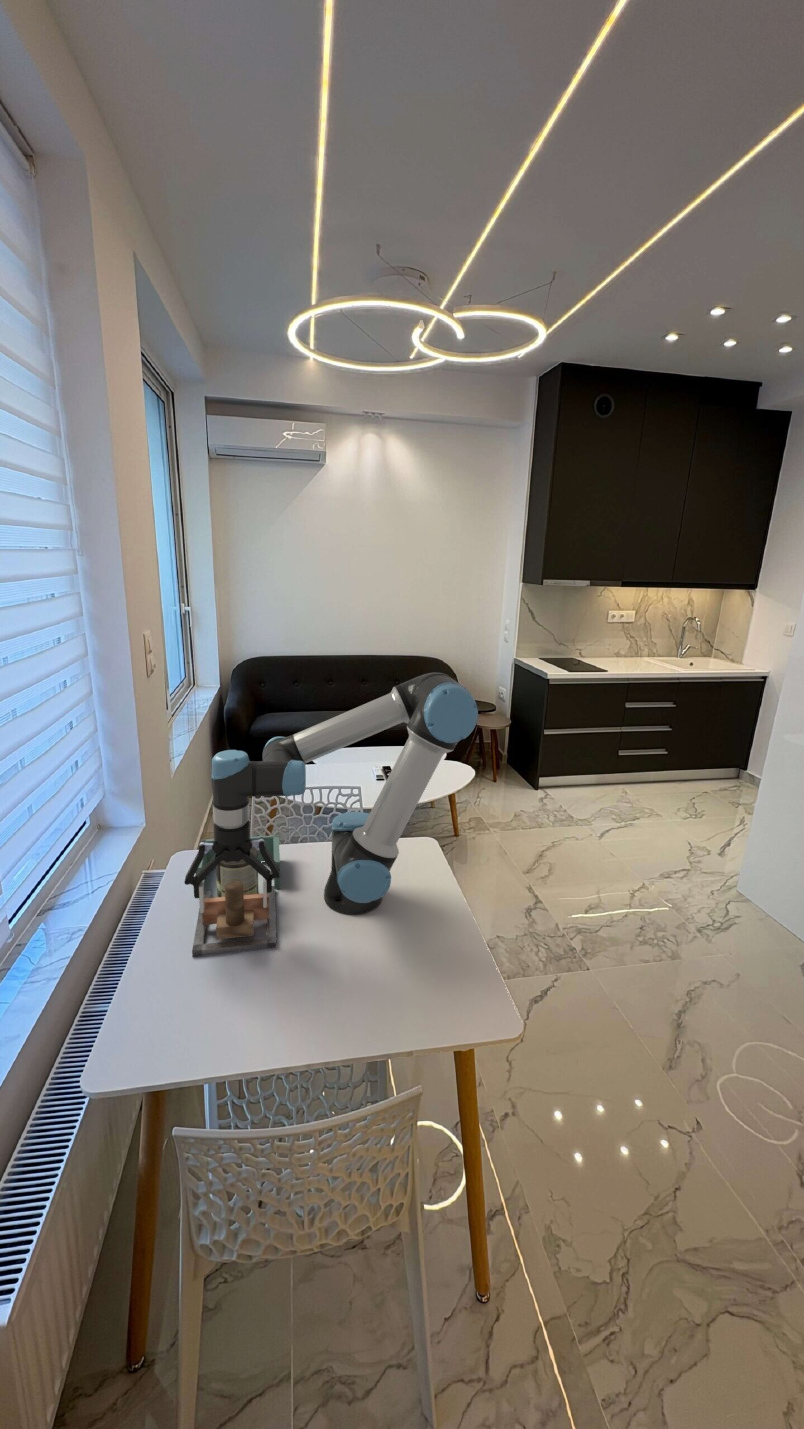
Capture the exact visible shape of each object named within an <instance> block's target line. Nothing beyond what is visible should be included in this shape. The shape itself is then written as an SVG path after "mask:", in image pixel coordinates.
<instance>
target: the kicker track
mask: <svg viewBox="0 0 804 1429" xmlns="http://www.w3.org/2000/svg"><path fill="white" fill-rule="evenodd" d="M275 890H276V889H275V887H274V885H272V891H271V893H269V919H266V937H262V938H252V939H251V938H250V939H249V938H248V939H240V940H231V941H230V940H229V941H219V942H210V943H209V942H208V943H205V938H206V931H207V925H203V919H202V913H200V907H199V908H198V916H197V920H196V927H195V932H194V938H193V943H192V950H191V955H192V956H191V957H192V958H194V957H203V956H211V955H212V956H213V955H221V954H233V953H241V952H250V951H251V952H252V951H261V950H269V949H270V950H271V949H276V948H277V926H276V925H277V924H276V923H277V922H276V894H275V893H276V892H275ZM211 893H212V892H211V890H206V891H205V890H204V898H212V895H211Z"/></svg>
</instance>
